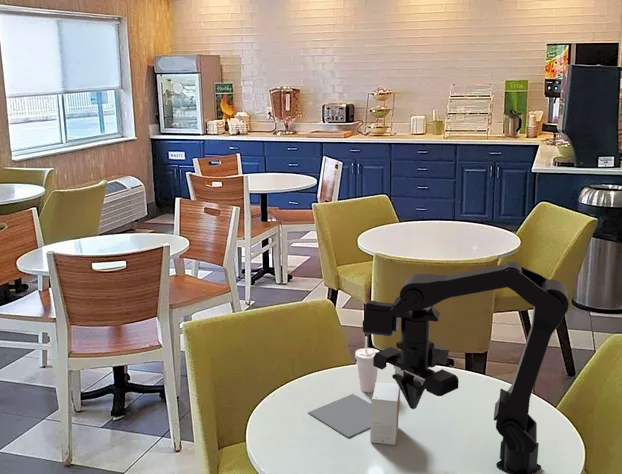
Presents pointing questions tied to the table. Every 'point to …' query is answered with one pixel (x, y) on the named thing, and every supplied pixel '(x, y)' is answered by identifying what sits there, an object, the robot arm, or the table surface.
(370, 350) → the smoothie
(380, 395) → the small box
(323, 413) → the mat
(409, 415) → the table surface
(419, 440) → the table surface
